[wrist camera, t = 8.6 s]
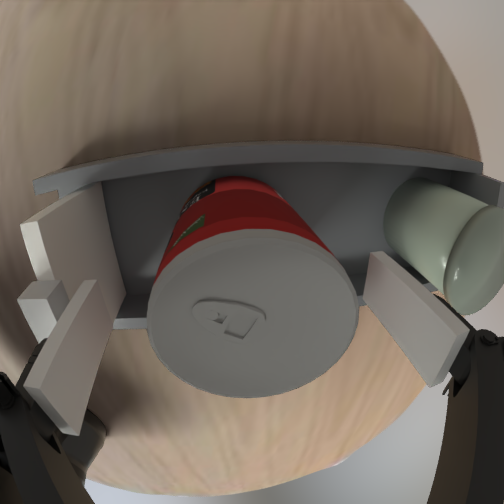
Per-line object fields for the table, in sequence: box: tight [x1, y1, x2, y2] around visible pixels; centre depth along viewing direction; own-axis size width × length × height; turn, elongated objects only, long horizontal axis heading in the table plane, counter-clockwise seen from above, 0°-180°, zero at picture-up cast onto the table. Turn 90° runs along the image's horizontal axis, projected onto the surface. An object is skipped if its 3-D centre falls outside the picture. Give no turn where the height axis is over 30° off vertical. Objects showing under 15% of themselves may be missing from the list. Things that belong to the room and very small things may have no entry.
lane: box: [33, 140, 504, 329], centre depth 18 cm, size 33×12×7 cm, turn 92°
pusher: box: [17, 182, 126, 343], centre depth 14 cm, size 2×9×10 cm, turn 2°
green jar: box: [383, 177, 504, 315], centre depth 17 cm, size 7×7×9 cm
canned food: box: [147, 176, 359, 398], centre depth 15 cm, size 8×8×11 cm
